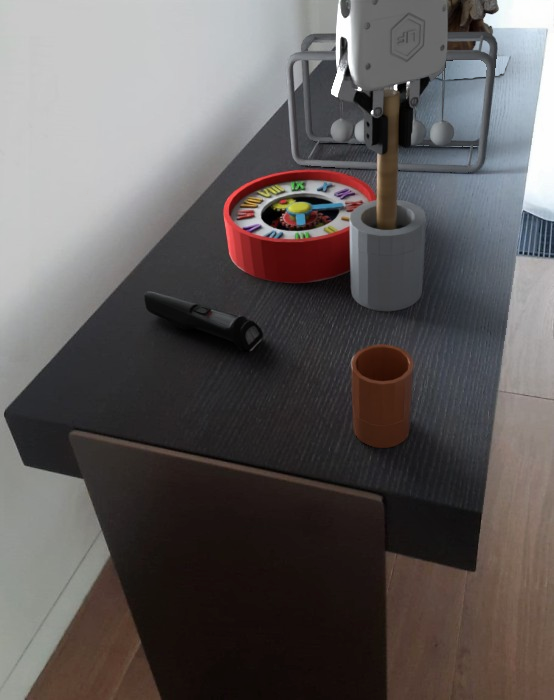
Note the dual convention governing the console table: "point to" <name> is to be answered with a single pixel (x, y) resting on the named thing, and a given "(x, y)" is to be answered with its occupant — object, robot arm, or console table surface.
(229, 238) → the toy clock
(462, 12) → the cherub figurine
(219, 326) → the electric trimmer
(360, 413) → the pot
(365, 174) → the console table surface
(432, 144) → the newton's cradle
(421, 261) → the grey hollow cylinder
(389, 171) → the brush
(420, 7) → the robot arm
